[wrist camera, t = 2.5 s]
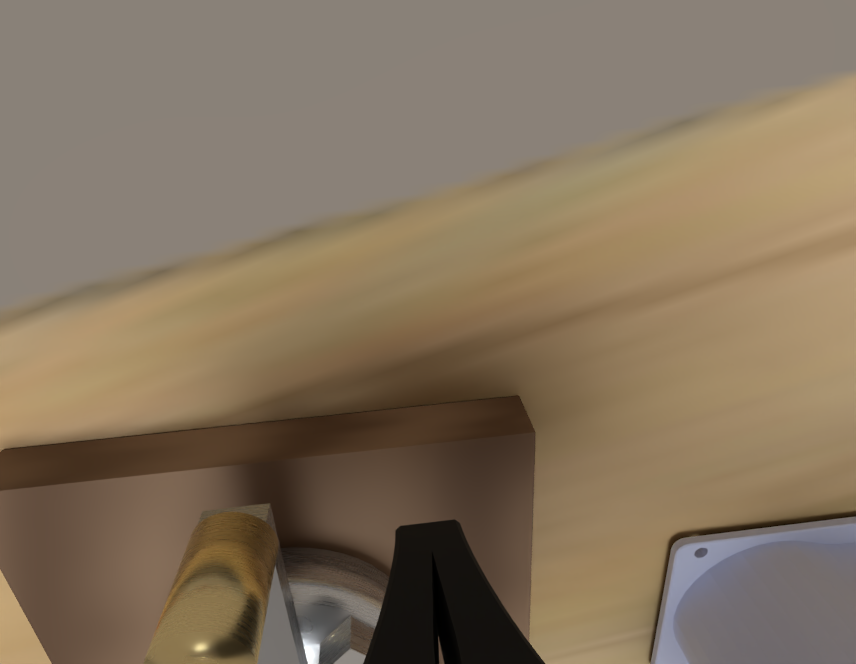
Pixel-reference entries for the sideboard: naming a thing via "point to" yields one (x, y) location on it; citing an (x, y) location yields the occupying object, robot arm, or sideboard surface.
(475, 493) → the base plate
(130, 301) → the sideboard surface
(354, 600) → the grey crank wheel
